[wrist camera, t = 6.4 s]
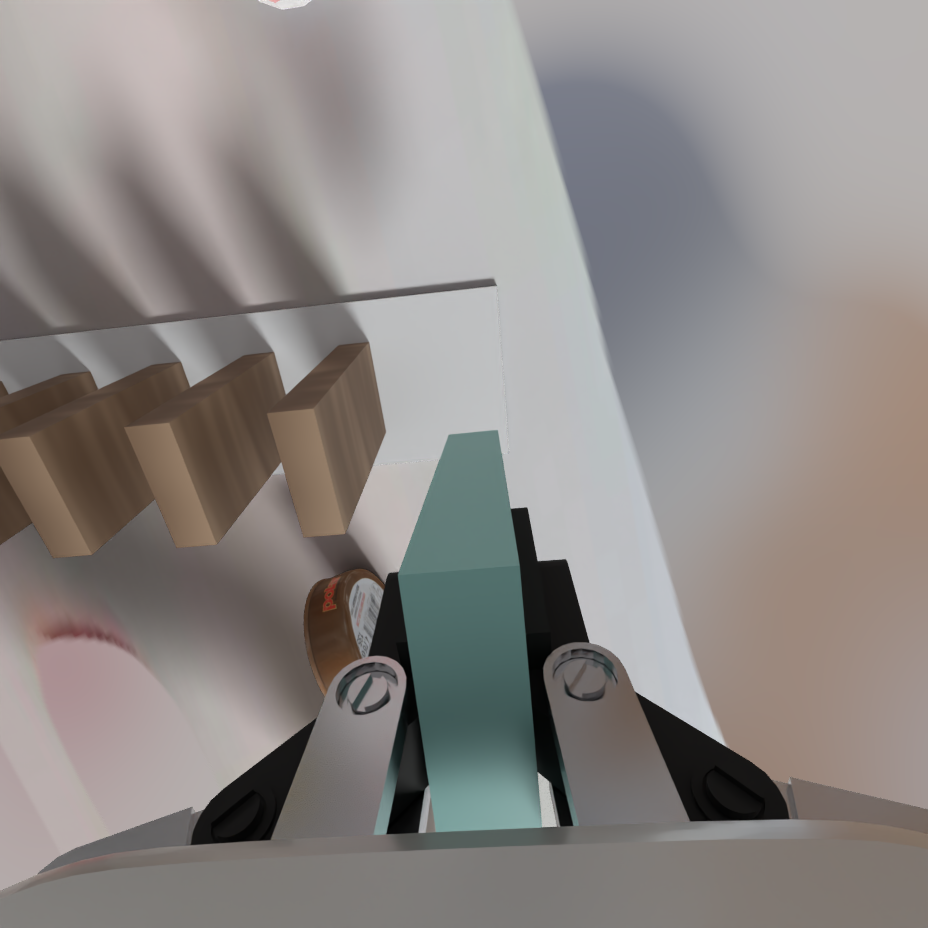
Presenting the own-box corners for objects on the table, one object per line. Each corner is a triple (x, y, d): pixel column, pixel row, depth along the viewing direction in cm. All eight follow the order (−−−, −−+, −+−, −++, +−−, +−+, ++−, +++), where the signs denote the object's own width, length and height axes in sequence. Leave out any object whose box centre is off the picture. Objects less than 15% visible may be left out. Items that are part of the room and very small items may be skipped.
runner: (496, 285, 25) (496, 286, 24) (509, 451, 29) (509, 453, 28) (-72, 348, 26) (-78, 350, 26) (13, 496, 30) (9, 499, 30)
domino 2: (180, 361, 26) (29, 436, 17) (212, 448, 28) (91, 554, 19) (151, 364, 26) (-15, 440, 17) (185, 450, 28) (53, 558, 20)
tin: (322, 553, 32) (276, 657, 24) (365, 537, 31) (331, 638, 24) (425, 703, 38) (413, 823, 30) (463, 691, 37) (460, 811, 30)
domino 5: (497, 429, 16) (519, 565, 6) (510, 571, 17) (544, 865, 8) (448, 434, 16) (397, 575, 7) (464, 575, 17) (442, 870, 8)
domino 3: (274, 351, 26) (169, 422, 17) (298, 440, 28) (216, 544, 19) (244, 355, 26) (123, 427, 17) (270, 442, 28) (176, 547, 19)
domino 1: (90, 371, 26) (-106, 449, 18) (128, 456, 29) (-29, 564, 20) (61, 374, 27) (-148, 453, 18) (101, 458, 29) (-67, 567, 20)
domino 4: (369, 341, 26) (313, 408, 17) (386, 431, 28) (345, 534, 19) (338, 345, 26) (266, 413, 17) (357, 434, 28) (303, 537, 19)
